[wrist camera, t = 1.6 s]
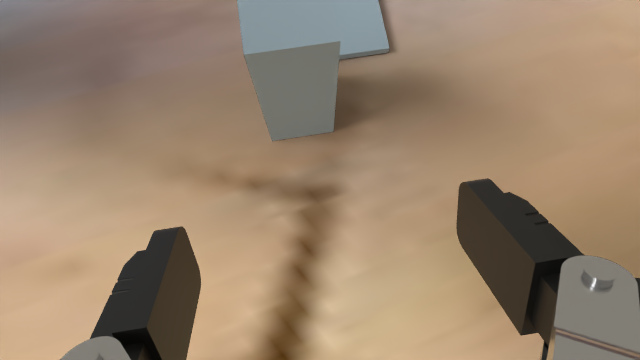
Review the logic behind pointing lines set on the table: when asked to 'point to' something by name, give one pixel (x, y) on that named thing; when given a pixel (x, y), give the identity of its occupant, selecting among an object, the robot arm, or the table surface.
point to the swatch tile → (360, 28)
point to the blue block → (292, 63)
